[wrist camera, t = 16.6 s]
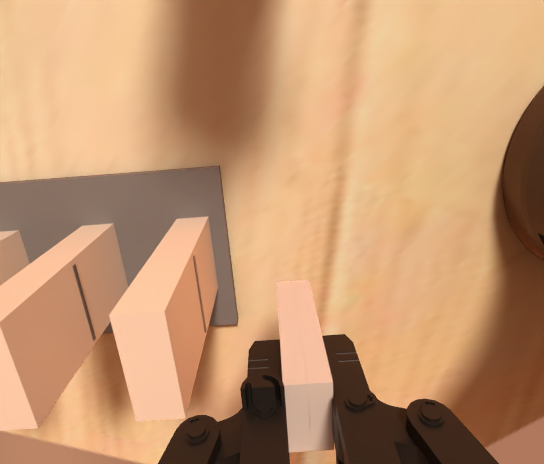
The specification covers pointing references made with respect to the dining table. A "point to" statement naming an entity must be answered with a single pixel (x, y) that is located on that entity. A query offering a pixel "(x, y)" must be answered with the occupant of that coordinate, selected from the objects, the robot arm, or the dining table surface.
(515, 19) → the dining table surface
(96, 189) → the slate mat
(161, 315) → the domino
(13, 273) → the loose domino
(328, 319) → the dining table surface
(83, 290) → the domino
